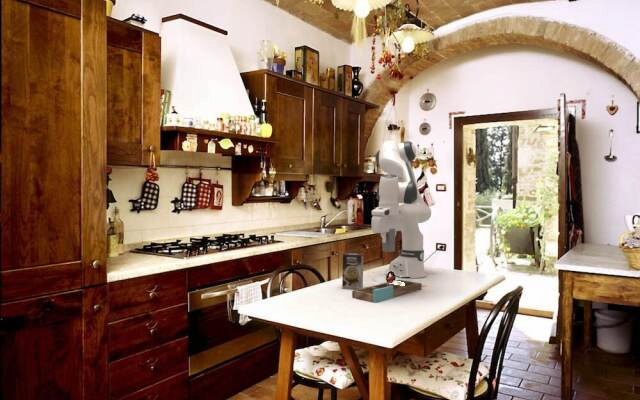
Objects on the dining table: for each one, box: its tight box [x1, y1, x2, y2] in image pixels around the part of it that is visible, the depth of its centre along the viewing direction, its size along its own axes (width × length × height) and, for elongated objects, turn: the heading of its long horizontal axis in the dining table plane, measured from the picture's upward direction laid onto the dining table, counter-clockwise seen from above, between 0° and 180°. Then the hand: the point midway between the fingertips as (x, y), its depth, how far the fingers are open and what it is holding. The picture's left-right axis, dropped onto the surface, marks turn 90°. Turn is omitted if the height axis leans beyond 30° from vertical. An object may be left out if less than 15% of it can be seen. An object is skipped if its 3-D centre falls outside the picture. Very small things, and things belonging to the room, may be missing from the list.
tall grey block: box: [381, 229, 396, 253], centre depth 203 cm, size 4×4×10 cm
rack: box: [351, 279, 422, 304], centre depth 204 cm, size 12×35×5 cm, turn 135°
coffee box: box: [341, 252, 364, 290], centre depth 216 cm, size 9×6×16 cm
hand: (388, 242), depth 203 cm, fingers closed on tall grey block, 4 cm apart
